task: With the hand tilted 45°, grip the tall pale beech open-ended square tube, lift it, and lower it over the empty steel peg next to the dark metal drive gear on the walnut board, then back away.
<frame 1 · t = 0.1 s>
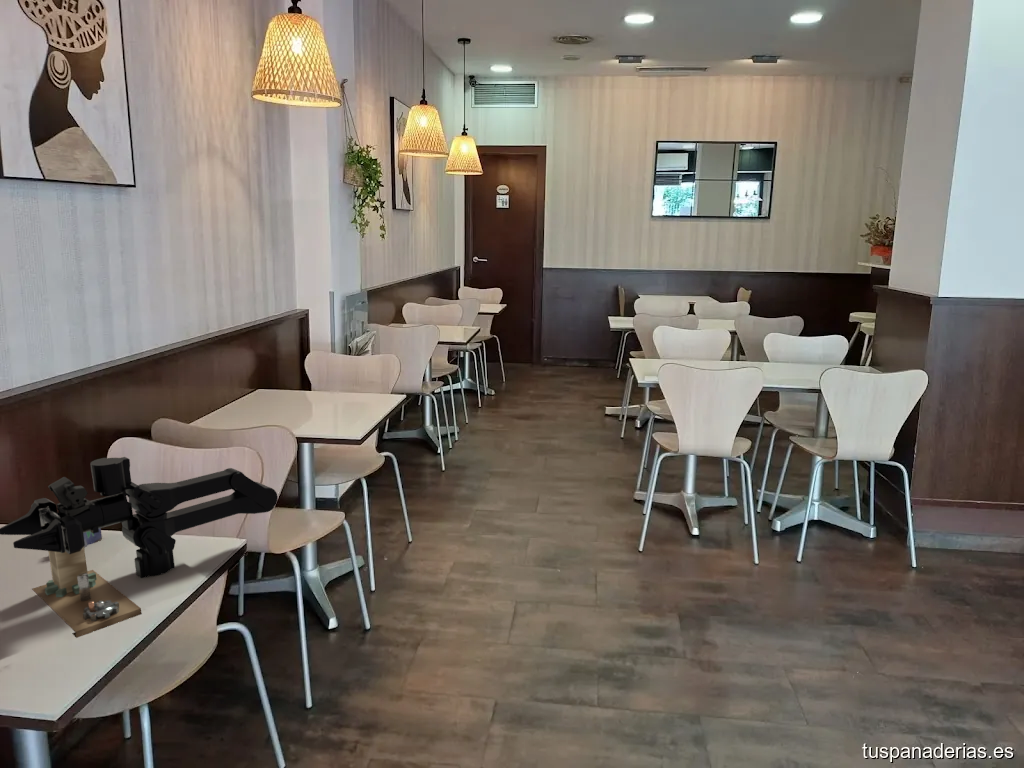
hand: (6, 538, 138), 17 cm above the table, tool horizontal, fingers open, 9 cm apart
gear board: (85, 603, 148), on the table
peg: (86, 604, 147), resting on gear board
flask: (89, 546, 175), on the table
drive gear: (102, 618, 142), resting on gear board
open-ended square tube: (71, 586, 153), point 1 cm above the table, touching gear board
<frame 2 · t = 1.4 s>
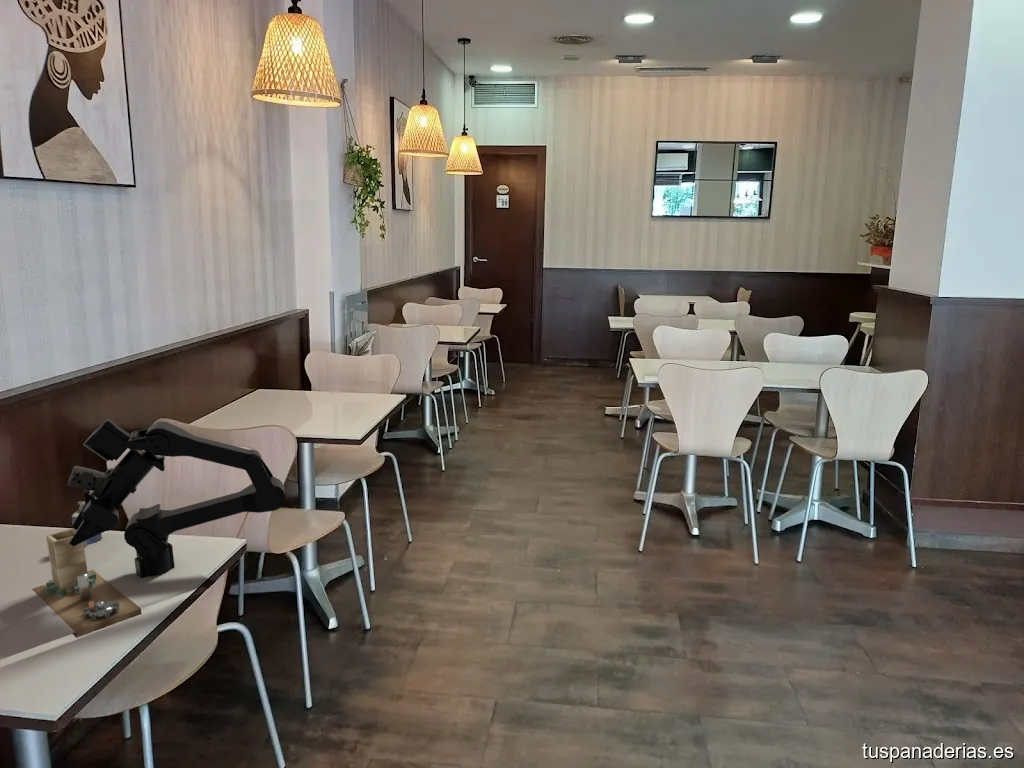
hand: (72, 536, 151), 12 cm above the table, tool tilted 45°, fingers open, 9 cm apart
nothing on the table moved.
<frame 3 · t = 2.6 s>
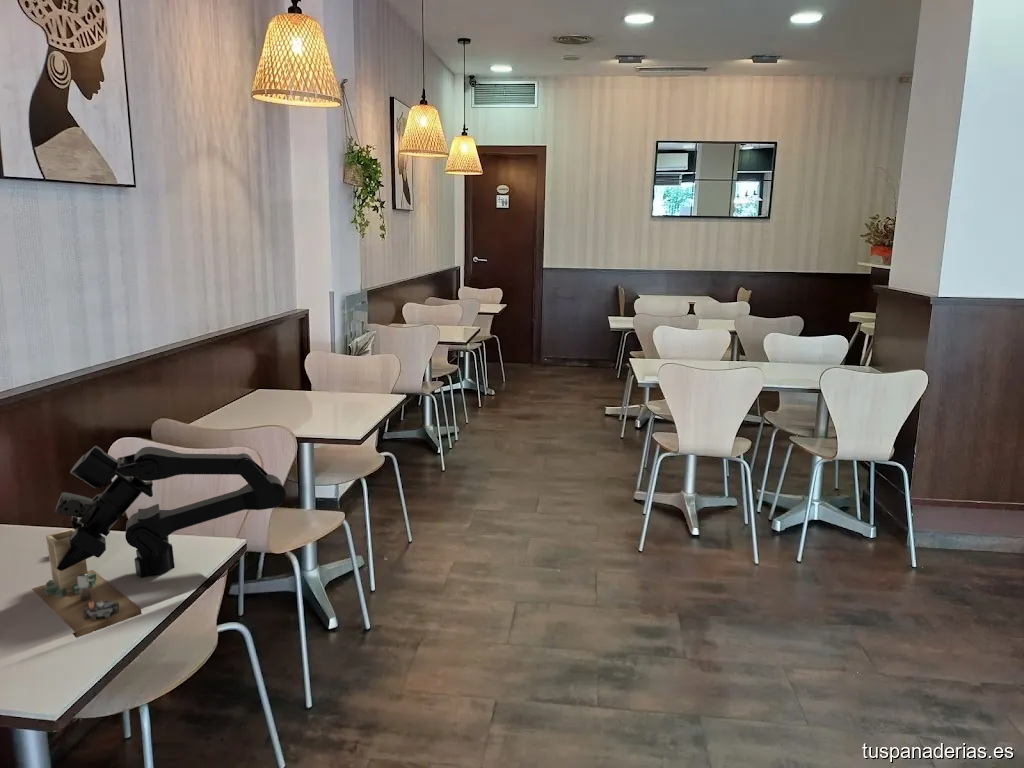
hand: (59, 563, 151), 7 cm above the table, tool tilted 45°, fingers closed on open-ended square tube, 6 cm apart
open-ended square tube: (71, 586, 153), point 1 cm above the table, touching gear board, gripper
everything else where it was.
when the fingers open (8 cm above the table, at t = 6.9 s): open-ended square tube drops 2 cm, resting on gear board.
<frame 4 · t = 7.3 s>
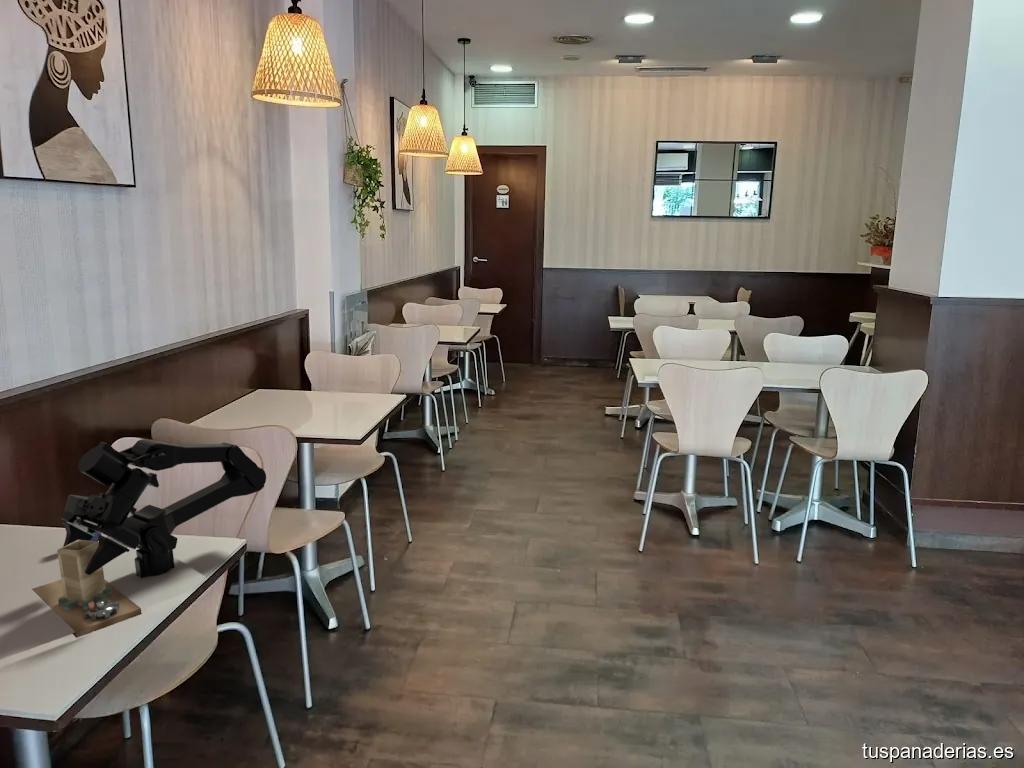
hand: (73, 568, 145), 8 cm above the table, tool tilted 45°, fingers open, 9 cm apart
open-ended square tube: (85, 598, 147), point 1 cm above the table, touching gear board
everything else where it was.
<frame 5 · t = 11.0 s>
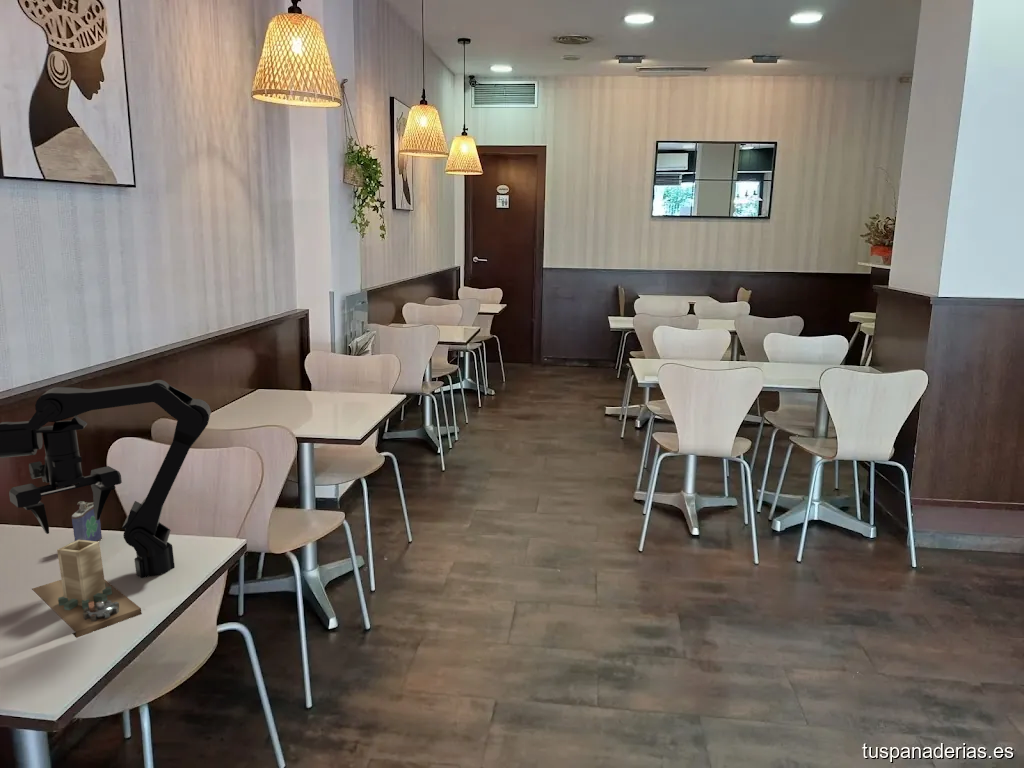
hand: (72, 526, 153), 13 cm above the table, tool pointing down, fingers open, 9 cm apart
nothing on the table moved.
at the end: open-ended square tube 0.1 cm from the peg (horizontally); open-ended square tube point 1.2 cm above the table; open-ended square tube tilted 0° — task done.
